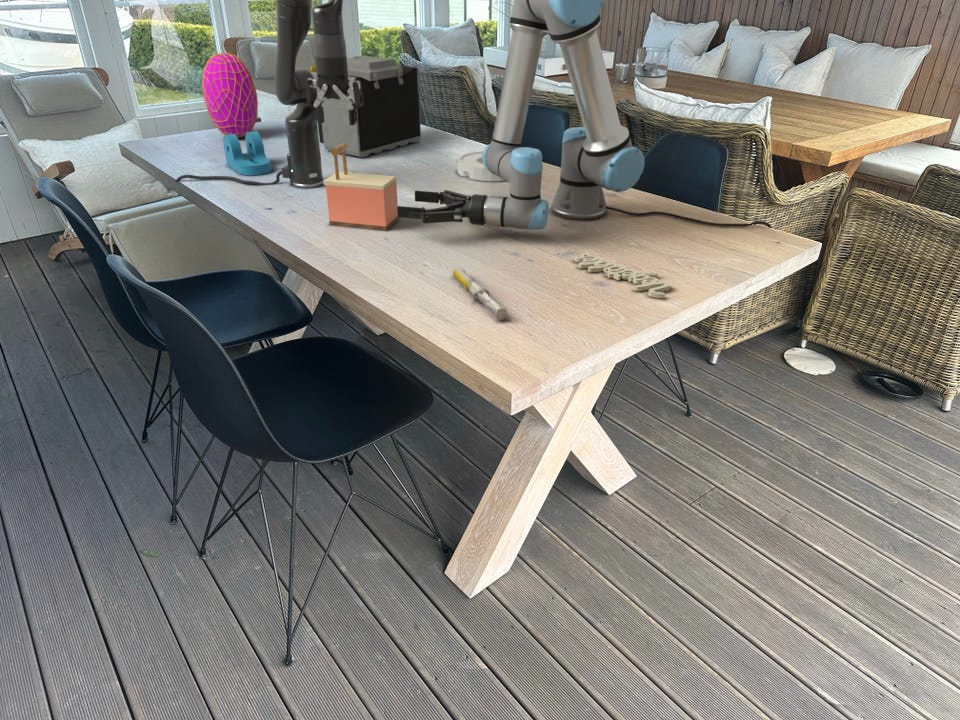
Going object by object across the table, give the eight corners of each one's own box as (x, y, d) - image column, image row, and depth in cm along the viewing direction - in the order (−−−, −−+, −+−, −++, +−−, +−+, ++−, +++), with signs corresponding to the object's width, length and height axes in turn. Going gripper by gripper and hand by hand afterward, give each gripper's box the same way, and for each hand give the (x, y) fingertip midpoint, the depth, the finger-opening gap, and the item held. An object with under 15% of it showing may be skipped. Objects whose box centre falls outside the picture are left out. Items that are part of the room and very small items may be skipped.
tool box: (383, 133, 276) (378, 52, 261) (425, 141, 265) (422, 56, 250) (314, 150, 251) (304, 61, 235) (358, 160, 240) (350, 67, 224)
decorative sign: (686, 282, 150) (660, 295, 144) (686, 286, 150) (659, 300, 144) (592, 249, 166) (565, 259, 160) (592, 253, 167) (565, 263, 161)
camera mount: (227, 164, 233) (221, 132, 227) (257, 160, 238) (252, 129, 233) (244, 176, 220) (239, 143, 215) (276, 172, 225) (271, 139, 220)
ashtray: (459, 161, 239) (459, 150, 237) (525, 163, 239) (526, 151, 237) (455, 180, 219) (455, 167, 217) (527, 181, 219) (528, 169, 217)
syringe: (449, 274, 155) (449, 263, 153) (465, 272, 156) (464, 260, 154) (490, 323, 135) (491, 310, 133) (508, 319, 136) (508, 307, 134)
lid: (323, 184, 177) (319, 148, 173) (338, 175, 185) (335, 140, 180) (383, 190, 174) (381, 153, 169) (396, 180, 181) (394, 145, 177)
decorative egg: (227, 145, 256) (212, 58, 241) (201, 136, 267) (185, 53, 252) (272, 137, 268) (260, 53, 253) (245, 129, 280) (233, 49, 264)
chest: (329, 225, 183) (325, 185, 177) (344, 214, 190) (340, 175, 185) (386, 230, 179) (383, 190, 174) (398, 219, 187) (396, 180, 181)
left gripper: (364, 53, 166) (369, 122, 175) (310, 51, 169) (317, 119, 178) (351, 57, 160) (357, 128, 168) (296, 54, 163) (304, 125, 171)
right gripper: (474, 241, 165) (391, 233, 169) (497, 209, 186) (422, 203, 190) (474, 211, 161) (389, 203, 165) (497, 182, 182) (421, 176, 186)
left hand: (337, 123), depth 173 cm, fingers open, 8 cm apart
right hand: (406, 203), depth 177 cm, fingers open, 13 cm apart
